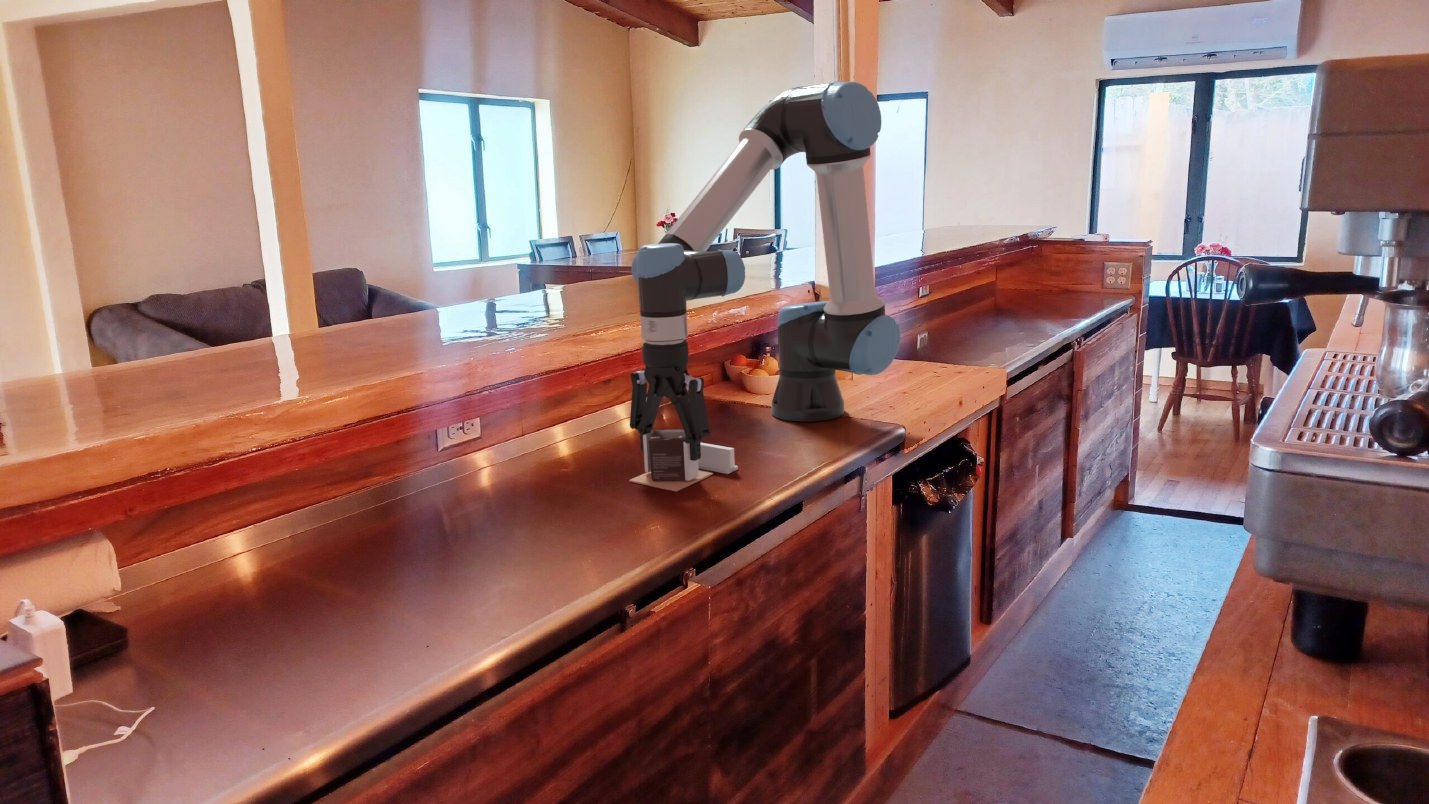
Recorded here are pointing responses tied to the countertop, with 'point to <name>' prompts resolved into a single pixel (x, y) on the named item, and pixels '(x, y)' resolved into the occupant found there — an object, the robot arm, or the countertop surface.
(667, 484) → the pad
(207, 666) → the countertop surface
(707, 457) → the divider wall
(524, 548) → the countertop surface
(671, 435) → the box
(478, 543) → the countertop surface
